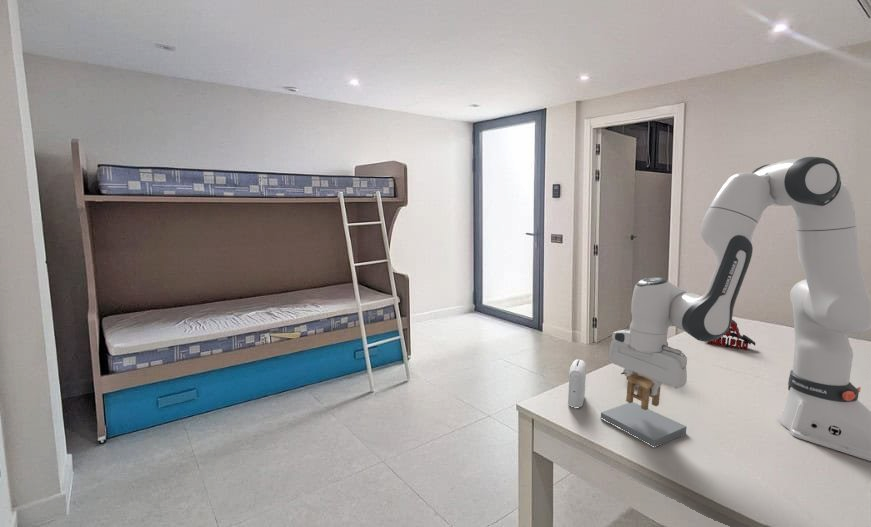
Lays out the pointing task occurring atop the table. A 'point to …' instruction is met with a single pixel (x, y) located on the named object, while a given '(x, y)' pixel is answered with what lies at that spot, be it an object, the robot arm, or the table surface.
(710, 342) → the extruded letter emblem
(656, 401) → the wooden stool
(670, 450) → the table surface
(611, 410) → the slate board
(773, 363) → the table surface
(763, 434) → the table surface
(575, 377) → the photo printer
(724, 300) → the robot arm
